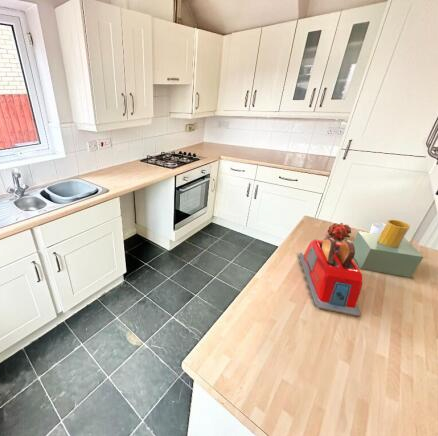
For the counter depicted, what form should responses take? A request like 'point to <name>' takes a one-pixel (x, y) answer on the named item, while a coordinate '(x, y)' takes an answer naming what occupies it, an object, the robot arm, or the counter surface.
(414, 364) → the counter surface
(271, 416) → the counter surface
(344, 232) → the dragon fruit
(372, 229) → the white cup
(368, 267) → the shelf
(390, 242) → the cup
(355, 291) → the toaster
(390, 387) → the counter surface
